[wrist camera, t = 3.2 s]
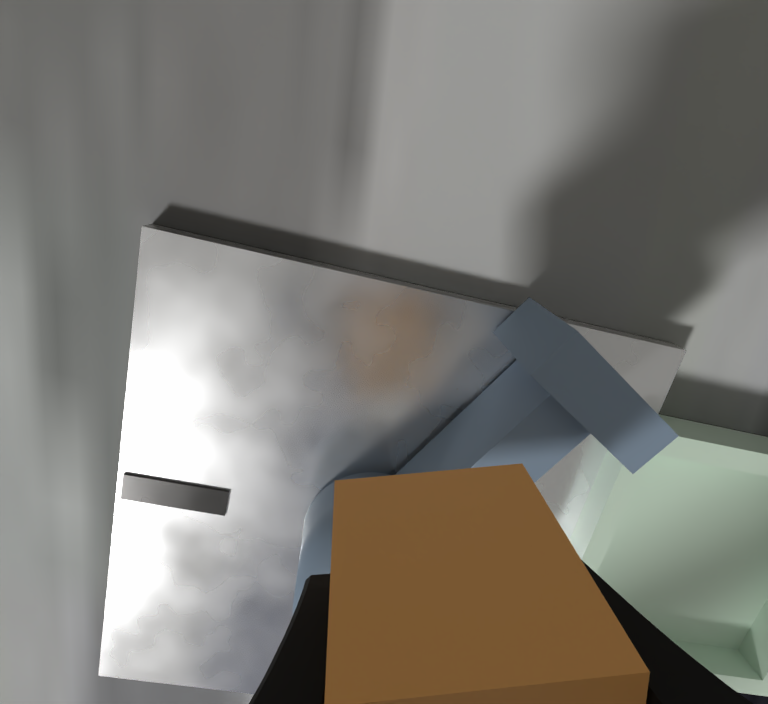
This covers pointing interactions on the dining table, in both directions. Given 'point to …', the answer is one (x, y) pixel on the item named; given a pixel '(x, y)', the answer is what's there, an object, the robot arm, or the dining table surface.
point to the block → (466, 598)
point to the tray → (690, 545)
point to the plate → (284, 435)
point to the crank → (521, 420)
